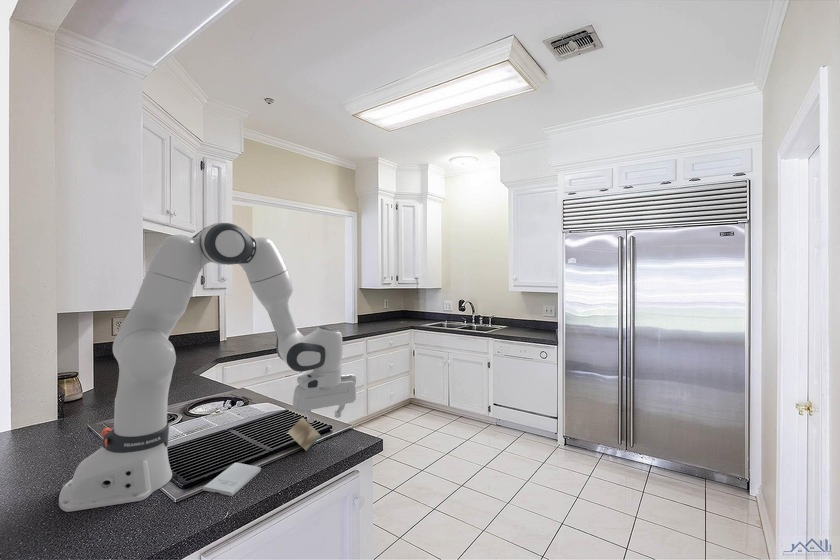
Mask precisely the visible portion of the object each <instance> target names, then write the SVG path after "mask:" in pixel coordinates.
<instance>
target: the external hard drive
mask: <svg viewBox="0 0 840 560" xmlns="http://www.w3.org/2000/svg"><path fill="white" fill-rule="evenodd" d="M261 470H262V468H261V467H260V466H258V465H251V464H250V465H249V464H245V463H241V462H234V463H232V464H231V465H230V466H229V467H227V468H225V470H223V471H222V472H221V473H220V474H218V475H217V476H216V477H214V478H213V479H212V480H210V481H209V482H208V483H207V484H205V485H204V486H203V488H202V490H203V491H207V492H211V493H217V494H219V495H225V496H229V497H233V496H234V495H235V494H236V493H237V492H238V491H239V490H241V489H242V488H244V487H245V485H246V484H248V483H249V482H250V481H251V480H252V479H254V477H256V476H257V475H258V474H259V473H260V472H261Z"/></svg>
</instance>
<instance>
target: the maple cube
mask: <svg viewBox="0 0 840 560" xmlns="http://www.w3.org/2000/svg"><path fill="white" fill-rule="evenodd" d="M287 433H288V434H289V435H290V437H292V439H293V440H294V441H295V442H296V443H297V444H298V445H299V446H300V447H302V449H304V451H306V452H308V451H309V449H310V448H311V447H312V446H313V445H314V444H315V443H317V441H318V440H319V439H320V437H322V435H321V434H320V433H319V432H318V431H317V430H316V429H315V428H314V426H312V425H311V423H308V421H307V420H306V419H305V418H304V417H300V419H299V420H298V421H297V422H296V423H295V424H294V425H293V426H292V427H291V428H290V429H289V430H288V432H287Z"/></svg>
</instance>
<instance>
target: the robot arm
mask: <svg viewBox="0 0 840 560" xmlns="http://www.w3.org/2000/svg"><path fill="white" fill-rule="evenodd" d="M209 263H212V264H213V263H214V264H216V265H231V266H232V265H238V266H239V265H240V266H241V268H242V270H243V271H244V272H245V275H246V277H247V279H248V282H249V285H250V287H251V290H252V291H253V293H254V295H255V297H256V298H257V300H258V301H259V303H261V305H262V306H263V307H264V308H265V310H266V312H267V314H268V316H269V319H270V321H271V324H272V327H273V329H274V332H275V334H276V341H275V342H276V343H275V345H276V346H275V347H276V348H275V349H276V354H277V357H279V358H280V360H282V361H283V362H284V363H285V364H286V365H287V366H288V367H289V368H290V369H291V370H293V371H295V372H299V373H300V372H301V373H302V372H306V373H304V374H301V375H299V376H298V377H296V382H297V385H296V386H295V388H294V392H293V397H292V407H293V409H294V410H295V411H296V412H298V413H301V412H304V413H305V415H306V416H307V420H306V421H307V422H308V423H309V424H312V423H314V422H315V417H314V416H313V415H311V413H312V411H314V410H319V409H324V408H328V407H329V408H330V407H334V406H338V408H337V410H334V417H335V419H338V418H342V417H341V416H342V412H343V410H344V409H345V407H346V405H347V404H353V403H354V402H355V401H356V400H357V399H356V398H357V395H356V394H357V393H356V392H357V391H356V385H357V377H356V376H355V375H354V374H352V373H350V374H343V375H342V363H341V362H342V361H341V360H342V357H343V335H342V332H341V331H340V330H339V329H337V328H335V327H332V326H326V325H321V326H318V327H316V329H315V330H313V331H312V332H310V333H308V334H307V335H304V334H303V333H302V332H301V331H299V329H298V328H297V326H296V324H295V323H296V322H295V320H294V318H293V315H292V312H291V310H290V306H289V300H290V298H291V296H292V294H293V291H294V289H293V283H292V278H291V274H290V273H289V270H288V266H287V264H286V261H285V260H284V259H283V256H282V254H281V252H280V251H279V249H278V247H277V246H276V244H275V243H274V241H273V240H272V239H270V238H267V237H262V236H261V237H252V236H251V235H250V234H249V233H247V232H246V230H244V229H243V228H242V227H240V226H238V225H236V224H233V223H230V222H217V223H212V224H211V225H208V226H206V227H204V228H203V229H201V230H200V231H199V232H196V234H195V235H194V236H192V237H190V236H187V235H182V234H174V235H169V236H167V237H165V239H163V241H162V242H161V244H160V246H159V247H158V249H157V250H156V252H155V254H154V255H153V257H152V259H151V262H150V263H149V265H148V268H147V270H146V273H145V275H144V278H143V281H142V283H141V285H140V289H139V291H138V293H137V296H136V298H135V301H134V302H133V305H132V306H131V308H130V309H129V311H128V313H127V315H126V317H125V319H124V321H123V322H122V324H121V326H120V328H119V330H118V332H117V334H116V336H115V338H114V340H113V343H112V354H113V356H114V358H115V359H116V361H117V363H118V368H119V369H118V372H119V373H118V379H117V380H118V382H117V389H116V394H115V398H114V411H113V412H114V417H113V419H114V421H113V429H112V428H110V427H105V428H103V429H102V430H101V433H100V434H101V437H102V447H99V449H97V450H96V451H94V452H93V453H91V454H90V455H89V456H87V457H86V458H85V459H83V460H82V461H81V462H80V463H79V464H78V466H77V467H76V469H75V471H74V474H73V476H72V479H70V480H69V481H67V482H66V483H65V484H64V485H63V486H62V488H61V490H60V492H59V495H58V506H59V508H60V509H61V511H64V512H67V513H68V512H70V513H71V512H77V511H83V510H89V509H96V508H101V507H107V506H114V505H122V504H126V503H127V504H129V503H134V502H140V501H143V500H145V499H147V498H148V497H149V496H150V495H151V494H152V493H154V492H156V491H157V490H159V489H160V488H162V487H164V486H165V485H166V484H168V483H169V482H170V480H172V478H173V472H172V469H171V465H170V461H169V454H168V453H169V451H168V445H169V439H170V426H169V423H168V403H169V402H168V401H169V399H168V398H169V392H170V387H171V386H170V385H171V383H172V376H173V371H174V367H175V366H176V361H177V355H176V350H175V347H174V345H173V344H172V342H171V341H170V340H169V338H170V335H171V333H172V332H173V329H174V328H175V326H176V325H177V323H178V321H179V320H180V319H181V317H182V316H184V314H185V313H186V311H187V307H188V305H189V302H190V299H191V297H192V294H193V291H194V289H195V287H196V283H197V281H198V278H199V275H200V273H201V271H202V269H203V268H204V267H205V266H206V265H207V264H209ZM307 371H309V372H307Z"/></svg>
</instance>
